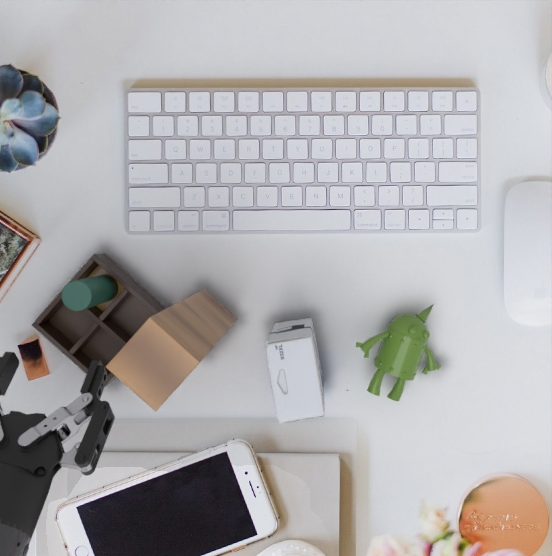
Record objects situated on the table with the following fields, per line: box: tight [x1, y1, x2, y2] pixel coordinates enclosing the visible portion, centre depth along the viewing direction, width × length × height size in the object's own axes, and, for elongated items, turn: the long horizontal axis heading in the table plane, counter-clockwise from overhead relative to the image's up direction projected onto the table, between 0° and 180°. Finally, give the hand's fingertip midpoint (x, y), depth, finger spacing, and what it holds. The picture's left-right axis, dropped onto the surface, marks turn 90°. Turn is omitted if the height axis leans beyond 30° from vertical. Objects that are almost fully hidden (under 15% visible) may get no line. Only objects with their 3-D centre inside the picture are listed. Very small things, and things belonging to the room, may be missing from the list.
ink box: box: [265, 317, 326, 425], centre depth 62 cm, size 8×5×12 cm, turn 9°
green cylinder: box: [61, 275, 118, 311], centre depth 63 cm, size 3×3×8 cm
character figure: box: [355, 303, 441, 402], centre depth 65 cm, size 12×5×12 cm
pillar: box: [106, 288, 238, 412], centre depth 57 cm, size 6×6×22 cm
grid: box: [31, 252, 167, 388], centre depth 67 cm, size 11×11×3 cm
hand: (55, 359), depth 56 cm, fingers open, 8 cm apart
